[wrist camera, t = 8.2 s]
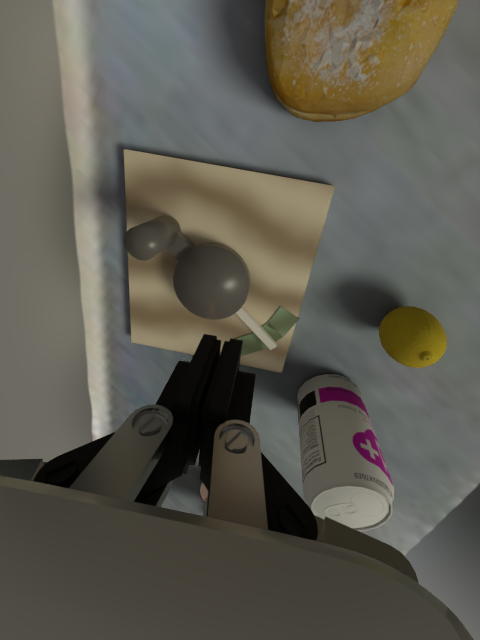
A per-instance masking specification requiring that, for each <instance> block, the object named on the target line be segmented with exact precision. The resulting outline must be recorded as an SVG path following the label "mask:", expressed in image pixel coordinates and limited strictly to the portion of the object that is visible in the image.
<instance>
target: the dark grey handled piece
mask: <svg viewBox="0 0 480 640" xmlns="http://www.w3.org/2000/svg"><path fill="white" fill-rule="evenodd" d="M124 243H125V247H126V249H127V251H128V252H129V254H130V255H131V256H133V257H134V258H136V259H138V260H143V261H145V260H149V259H151V258H152V257H154V256H155V255H157V254H158V253H160V252H161V251H163V250H164V249H165V248H166V249H167V250H168V251H169V252H170V253H171V254H172V255H173V256H174V257H175V258H176V259H177V260H178V261H179V262H178V263H177V265H176V268H175V271H174V275H173V285H174V290H175V293H176V295H177V297H178V299H179V301H180V302H181V303H182V305H183V306H184V307H185V308H186V309H187V310H189V311H190V312H191V313H193V314H195V315H197V316H199V317H201V318H205V319H211V320H218V319H224V318H227V317H230V316H232V315H233V314H235V313H236V314H237V315H238V316H239V317H240V318H241V319H242V320H243V321H244V322H245V323H246V325H247V326H248V327H249V328H250V329H251V330H252V331H253V332H254V333H255V334H256V335H257V336H258V337H259V338H260V339H261V341H262V342H263V343H264V344H265V345H266V346H267V347H268V348H269V349H270V350H272V349H274V348H275V347H277V343H276V342H275V341H274V340H273V339H272V337H271V336H270V335H269V334H268V333H267V332H266V331H265V330H264V329H263V328H262V327H261V325H260V324H259V323H258V322H257V321H256V320H255V319H254V318H253V317H252V316H251V315H250V314H249V312H248V311H247V310H246V309H245V308H244V307H243V305H244V303H245V301H246V299H247V295H248V292H249V288H250V274H249V270H248V267H247V265H246V263H245V262H244V260H243V259H242V257H241V256H240V255H239V254H238V253H237V252H235V251H234V250H233V249H231V248H229V247H227V246H225V245H222V244H217V243H205V244H201V245H198V246H196V247H195V246H194V245H193V244H192V242H191V241H190V240H189V239H188V238H187V237H186V236H185V235H184V234H183V233H182V231H181V229H180V225H179V223H178V222H177V221H176V219H174V218H173V217H171V216H168V215H163V216H160V217H158V218H155V219H153V220H150V221H147V222H145V223H142V224H140V225H137V226H135V227H132V228H130V229H129V230H128V231H127V232H126V234H125V237H124Z"/></svg>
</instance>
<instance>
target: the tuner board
mask: <svg viewBox="0 0 480 640" xmlns="http://www.w3.org/2000/svg"><path fill="white" fill-rule="evenodd" d="M124 167H125V192H126V218H127V231H128V230H129V229H130V228H132V227H135V226H137V225H140V224H142V223H145V222H147V221H150V220H153V219H155V218H158V217H160V216H163V215H168V216H171V217H173V218H174V219H176V221H177V222H178V223H179V225H180V229H181V231H182V233H183V234H184V235H185V236H186V237H187V238H188V239H189V240H190V241H191V242H192V244H193V245H194V246H195V247H196V246H198V245H201V244H205V243H217V244H222V245H225V246H227V247H229V248H231V249H233V250H234V251H235V252H237V253H238V254H239V255H240V256H241V257H242V259H243V260H244V262H245V263H246V265H247V267H248V270H249V274H250V288H249V292H248V295H247V299H246V301H245V303H244V305H243V307H244V308H245V309H246V310H247V311H248V312H249V314H250V315H251V316H252V317H253V318H254V319H255V320H256V321H257V322H258V323H259V324H260V325H261V327H262V328H263V329H264V330H265V331H266V332H267V333H268V334H269V335H270V336H271V337H272V339H273V340H274V341H275V342H276V343H277V347H275V348H274V349H272V350H270V349H269V348H268V347H267V346H266V345H265V344H264V343H263V342H262V341H261V339H260V338H259V337H258V336H257V335H256V334H255V333H254V332H253V331H252V330H251V329H250V328H249V327H248V326H247V325H246V323H245V322H244V321H243V320H242V319H241V318H240V317H239V316H238V315H237V314H236V313H235V314H233V315H232V316H230V317H227V318H224V319H218V320H211V319H205V318H201V317H199V316H197V315H195V314H193V313H191V312H190V311H189V310H187V309H186V308H185V307H184V306H183V305H182V303H181V302H180V301H179V299H178V297H177V295H176V293H175V290H174V285H173V275H174V271H175V268H176V265H177V263H178V262H179V261H178V260H177V259H176V258H175V257H174V256H173V255H172V254H171V253H170V252H169V251H168V250H167V249H166V248H165V249H164V250H163V251H161V252H160V253H158V254H157V255H155V256H154V257H152V258H151V259H149V260H145V261H143V260H138V259H136V258H134V257H133V256H131V255H130V254H129V252H128V269H129V294H130V319H131V342H133V343H138V344H143V345H148V346H152V347H157V348H162V349H167V350H172V351H177V352H182V353H187V354H192V355H194V354H195V352H196V349H197V347H198V345H199V343H200V341H201V339H202V337H203V335H204V334H208V335H214V336H217V340H221V349H220V354H221V351H222V348H223V345H224V342H225V341H230V338H231V339H237V340H243V345H242V352H241V358H240V364H241V365H245V366H250V367H255V368H260V369H265V370H270V371H275V372H280V373H282V370H283V367H284V363H285V360H286V356H287V353H288V349H289V346H290V342H291V339H292V335H293V332H294V328H295V325H296V322H297V321H298V320H299V318H298V314H299V311H300V307H301V304H302V300H303V297H304V293H305V290H306V286H307V283H308V279H309V276H310V272H311V269H312V265H313V262H314V258H315V255H316V251H317V248H318V244H319V241H320V237H321V234H322V230H323V227H324V223H325V220H326V216H327V213H328V209H329V206H330V202H331V199H332V195H333V192H334V188H335V186H333V185H327V184H321V183H315V182H310V181H304V180H298V179H293V178H287V177H281V176H276V175H270V174H264V173H259V172H253V171H247V170H242V169H236V168H230V167H225V166H219V165H213V164H208V163H202V162H196V161H191V160H185V159H179V158H174V157H168V156H162V155H157V154H151V153H145V152H140V151H134V150H128V149H124Z"/></svg>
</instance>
